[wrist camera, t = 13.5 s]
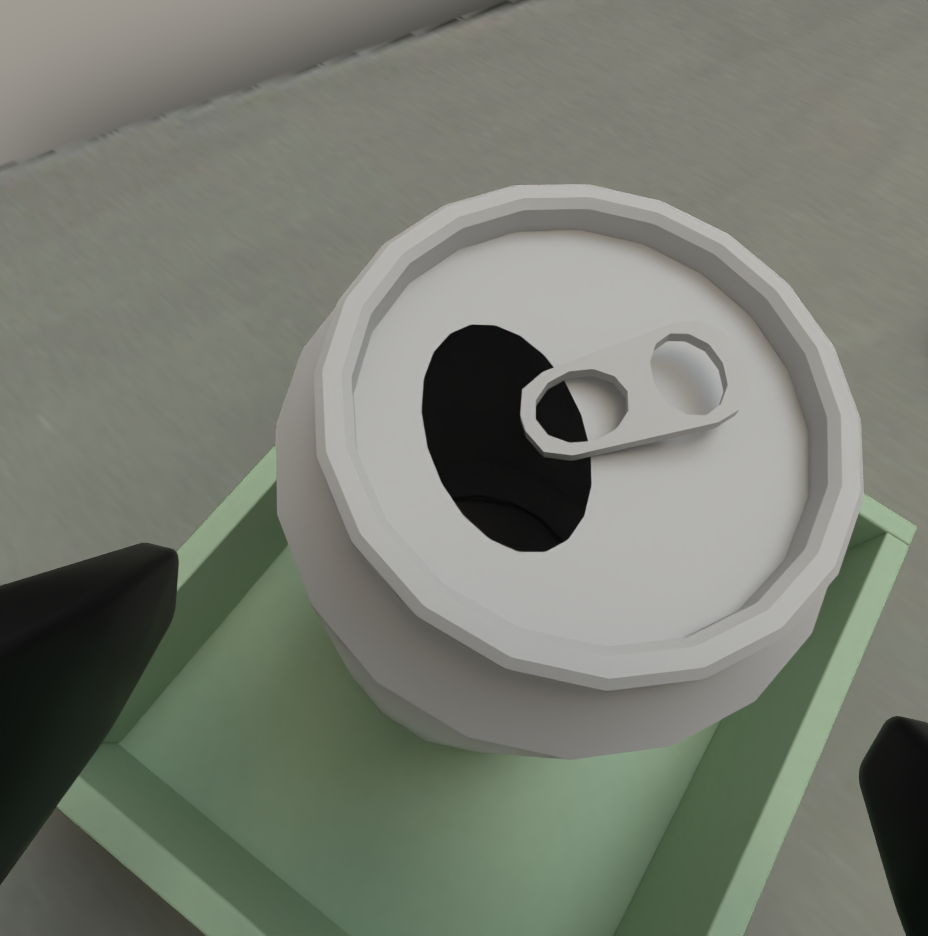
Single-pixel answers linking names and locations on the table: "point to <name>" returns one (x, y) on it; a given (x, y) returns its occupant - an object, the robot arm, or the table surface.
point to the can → (567, 474)
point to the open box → (437, 774)
